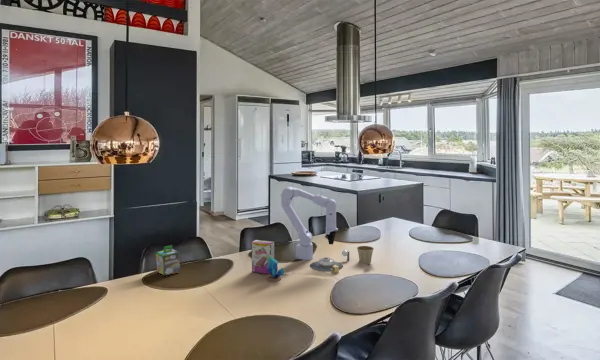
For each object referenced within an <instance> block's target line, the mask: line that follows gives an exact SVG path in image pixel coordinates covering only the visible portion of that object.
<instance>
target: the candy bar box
mask: <svg viewBox="0 0 600 360" xmlns="http://www.w3.org/2000/svg"><path fill="white" fill-rule="evenodd" d="M269 257H272V258H273V259H275V241H270V240H260V239H254V240H253V241H251V273H258V274H266V275H271V274H270V273H269V272H268V271H267V266H268V260H269Z"/></svg>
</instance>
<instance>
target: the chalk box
mask: <svg viewBox="0 0 600 360" xmlns="http://www.w3.org/2000/svg"><path fill="white" fill-rule="evenodd" d="M155 262H156V273H157V272H159V273H161V274H163V275H166V274H170V273H173V272H178V271H180V272H181V260H180V251H179V250H175V249H173V244H170V245H165V246H163V250H160V251H157V252H155Z"/></svg>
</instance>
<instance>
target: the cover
mask: <svg viewBox="0 0 600 360" xmlns="http://www.w3.org/2000/svg"><path fill="white" fill-rule="evenodd" d="M318 261H319V266H320V267H321V268H332V266H334V261H335V260H334V259H333V258H330V257H326V256H325V257H322V258H319V260H318Z"/></svg>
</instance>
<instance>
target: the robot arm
mask: <svg viewBox="0 0 600 360" xmlns="http://www.w3.org/2000/svg"><path fill="white" fill-rule="evenodd" d="M297 197H301V198H303V199H307V200H309V201H312V203H313V204H314V205H317V206H320V207H322V208H326V212H325V235H326V238H327V240H328V241H327V242H328V244H329V245H334V242H335V237H336V234H337V233H338V232H337V231H338V230H339V228H337V209H336V208H337V201H336V200H335V199H333V198H330V197H326V196H324V195H322V194H321V193H320V194H312V193H310V192H308V191H305V190H304V189H301V188H298V187H296V186H295V187H294V186H291V185H289V186H287V187H285V188H284V189H282V191H281V194H280V198H281V199H280V203H281V205H280V206H281V208H282V209H283V211H284V213H285V214H286V216H287V217H288V219H289V221H290V222H291V224H292V226H293V228H294V229H295V231H296V232H297V237H298V239H299V243H298V244H296V245H295V260H303V261H310V260H313V259H314V257H313V256H314V255H313V254H314V253H313V252H314V250H313V249H314V248H313V247H314V245H313V242H312V240H313V233H311V232H310V231H309V230H308V229H307V228H306V227H305V225H304V224H303V222H302V220H301V219H300V217H299V215H298V214H297V212H296V211H295V209H294V207H293V206H292V200H293V198H297Z"/></svg>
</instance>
